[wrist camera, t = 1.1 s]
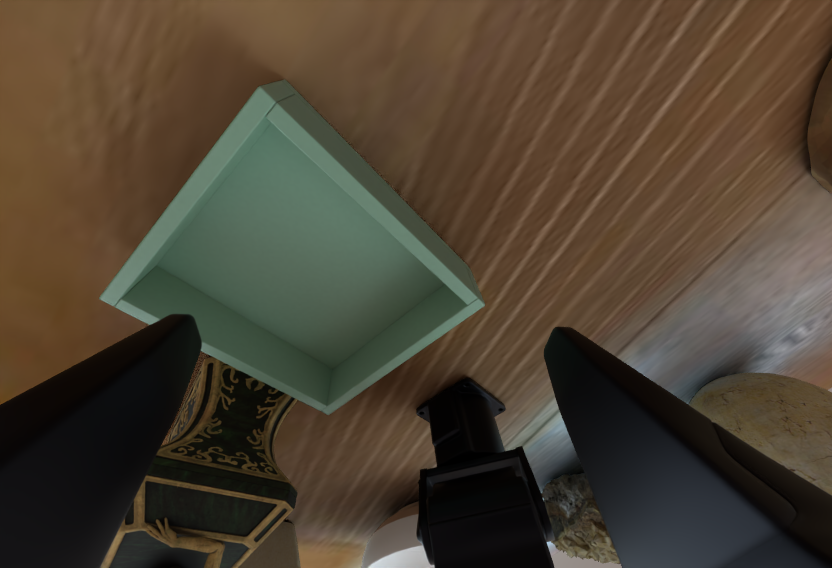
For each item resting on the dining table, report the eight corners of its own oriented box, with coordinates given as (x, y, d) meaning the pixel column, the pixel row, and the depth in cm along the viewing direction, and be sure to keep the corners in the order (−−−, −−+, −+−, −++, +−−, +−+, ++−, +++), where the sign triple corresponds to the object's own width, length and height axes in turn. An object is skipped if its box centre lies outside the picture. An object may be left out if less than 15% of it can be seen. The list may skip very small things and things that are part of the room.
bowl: (336, 506, 43) (330, 567, 38) (482, 466, 40) (497, 525, 35) (395, 554, 53) (396, 606, 48) (513, 524, 51) (528, 576, 46)
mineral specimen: (589, 504, 49) (630, 594, 41) (513, 497, 45) (542, 593, 37) (660, 450, 42) (729, 547, 33) (577, 437, 38) (630, 541, 30)
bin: (470, 268, 24) (485, 305, 20) (335, 371, 29) (328, 415, 25) (284, 78, 17) (258, 84, 13) (144, 258, 21) (97, 299, 18)
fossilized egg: (800, 375, 35) (1028, 550, 23) (684, 435, 40) (820, 605, 28) (757, 322, 30) (1023, 512, 17) (630, 398, 35) (767, 588, 22)
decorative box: (203, 331, 25) (-123, 839, 9) (323, 373, 29) (248, 787, 12) (146, 460, 34) (-72, 838, 17) (244, 480, 37) (139, 808, 21)
